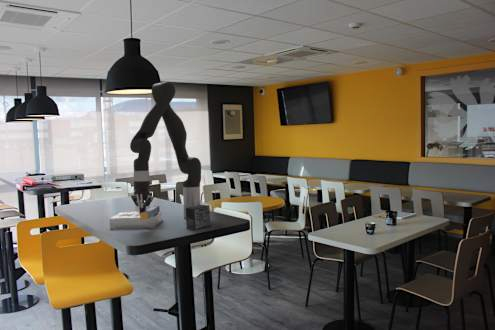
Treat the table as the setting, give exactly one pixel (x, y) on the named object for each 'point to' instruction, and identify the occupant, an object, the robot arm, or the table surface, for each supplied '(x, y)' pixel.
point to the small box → (198, 217)
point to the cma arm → (149, 213)
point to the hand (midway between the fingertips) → (142, 215)
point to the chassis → (134, 220)
